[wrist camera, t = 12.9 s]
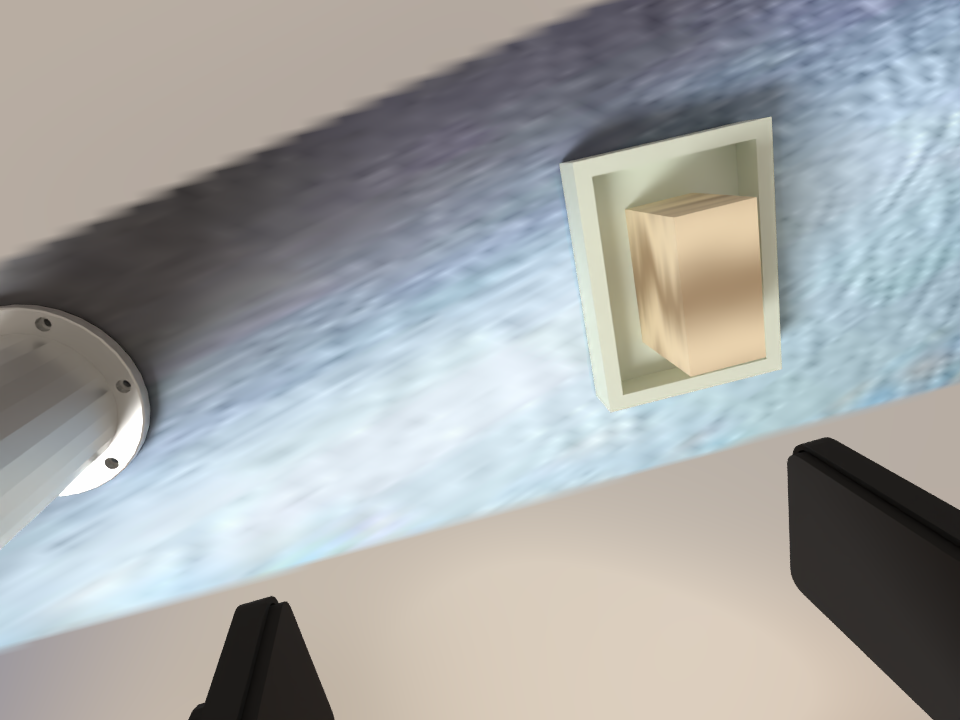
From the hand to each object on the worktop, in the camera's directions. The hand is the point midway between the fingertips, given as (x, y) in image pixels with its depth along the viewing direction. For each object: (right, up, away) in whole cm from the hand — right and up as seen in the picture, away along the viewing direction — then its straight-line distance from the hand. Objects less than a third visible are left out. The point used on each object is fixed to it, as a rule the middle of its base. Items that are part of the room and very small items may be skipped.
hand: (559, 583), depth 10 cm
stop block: (+11, +10, +27) cm, 31 cm away
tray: (+11, +10, +28) cm, 32 cm away
